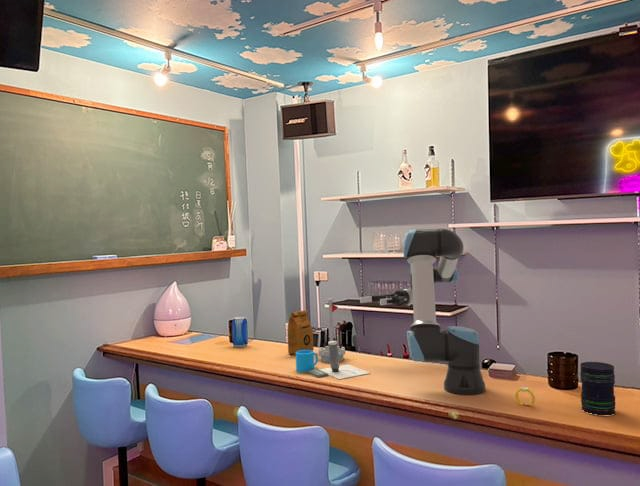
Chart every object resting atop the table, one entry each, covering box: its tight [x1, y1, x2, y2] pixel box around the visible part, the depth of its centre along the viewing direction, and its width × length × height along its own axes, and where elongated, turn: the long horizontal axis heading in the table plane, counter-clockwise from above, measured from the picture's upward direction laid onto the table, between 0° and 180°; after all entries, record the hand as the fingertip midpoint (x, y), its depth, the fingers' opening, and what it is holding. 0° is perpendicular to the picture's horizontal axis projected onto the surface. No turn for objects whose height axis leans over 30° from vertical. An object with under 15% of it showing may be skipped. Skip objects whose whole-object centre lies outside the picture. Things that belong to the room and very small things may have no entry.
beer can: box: [231, 316, 249, 349], centre depth 286 cm, size 8×8×16 cm
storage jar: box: [579, 361, 616, 415], centre depth 166 cm, size 10×10×15 cm
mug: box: [295, 350, 319, 373], centre depth 231 cm, size 12×8×8 cm
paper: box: [318, 364, 371, 381], centre depth 224 cm, size 18×16×1 cm
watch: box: [515, 386, 536, 407], centre depth 174 cm, size 6×3×6 cm, turn 51°
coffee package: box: [287, 309, 315, 356], centre depth 263 cm, size 10×12×22 cm
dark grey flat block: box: [306, 368, 329, 379], centre depth 222 cm, size 10×5×1 cm, turn 30°
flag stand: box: [318, 297, 346, 363], centre depth 247 cm, size 13×13×30 cm
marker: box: [327, 340, 340, 372], centre depth 224 cm, size 4×4×13 cm
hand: (370, 301), depth 229 cm, fingers open, 13 cm apart
